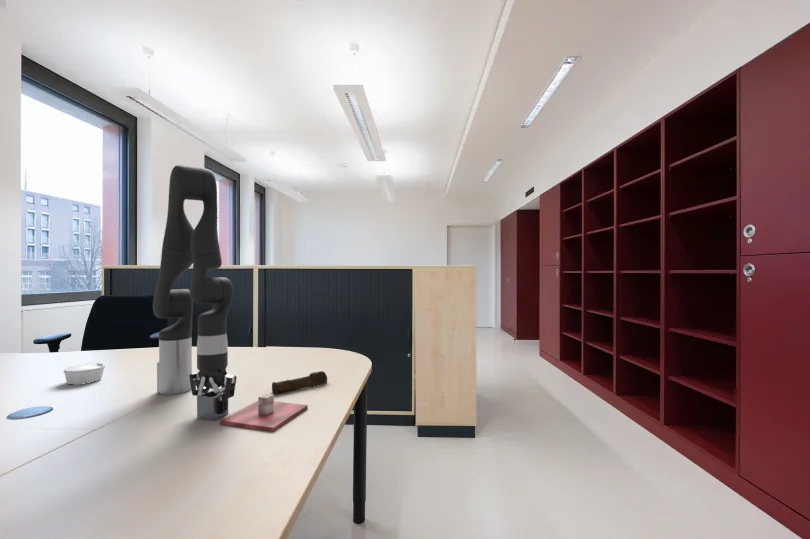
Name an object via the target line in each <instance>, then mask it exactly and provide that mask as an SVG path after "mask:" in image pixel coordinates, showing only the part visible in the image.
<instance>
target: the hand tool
mask: <svg viewBox="0 0 810 539" xmlns="http://www.w3.org/2000/svg"><path fill="white" fill-rule="evenodd" d="M326 383H328V376H327V374H326V372H324V371H315V372H311V373H309V375H307V376H303V377H298V378H294V379H286V380H281V381H278V382H274V381H272V383H271V392H272V393H273V395H275V394H276V395H277V394H282V393H284V392H289V391H291V390H297V389H302V388H306V387H314V386H315V387H319V386H322V385H325V384H326ZM318 385H319V386H318ZM315 387H314V388H315Z"/></svg>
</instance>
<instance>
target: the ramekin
mask: <svg viewBox="0 0 810 539" xmlns="http://www.w3.org/2000/svg"><path fill="white" fill-rule="evenodd" d="M105 367H106V365H105V364H104V363H100V362H91V363H82V364H75V365H73V366H72V365H71V366H68V367H66V368H64V369H63V374H64V376H65V381H66V383H67V384H68V385H69V384H82V383H89V382H93V381H97V380H99V379H100V380H102V378H103V375H104V370H105ZM100 380H99V381H100ZM97 382H98V381H97ZM89 384H90V383H89Z"/></svg>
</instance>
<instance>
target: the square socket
mask: <svg viewBox="0 0 810 539" xmlns="http://www.w3.org/2000/svg"><path fill="white" fill-rule="evenodd" d="M221 393H222V391H221ZM222 396H223V393H222ZM218 401H219V400H218V396H217V394H215V393H214V390H213V389H210V390H209V392H206V393H204V394H202V395H199V396H196V419H197V420H205V421H213V422H214V421H216V420H218V419H221V418H223V417H224V416H226V415H228V414H229V398H228V399H227V411H226V412H225V413H224V414H222V415H219V414H218Z"/></svg>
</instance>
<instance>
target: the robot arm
mask: <svg viewBox="0 0 810 539" xmlns="http://www.w3.org/2000/svg"><path fill="white" fill-rule="evenodd" d="M168 185H169V186H168V201H167V202H168V205H167V216H166V223H165V229H164V234H163V235H164V236H163V239H162V248H161V254H160V266H159V273H158V278H157V283H156V286H155V290H154V294H153V299H152V300H153V301H152V312H153V315H154V316H155V317H156V318H157V319H173V318H178V320H177V321H176V322H174V323H173V324H172V325H170V326H168V327H165V328H162V329H161V330H159V332H158V356H159V357H158V358H159V359H158V362H156V392H158V393H159V394H160V395H166V396H168V395H170V396H171V395H178V394H182V393H186V392H188V391H191V395H192V396H196V397H197V396H199V395H202V394H204V393H206V392H209V391H210V390H214V393H215V394H217V396H218V400H219V401H218V414H219V415H222V414H224V413H225V412H226V411H227V399H228V400H229V399H231V398H233V397H234V396H235V393H236V392H235V391H236V383H237V376H236V375H230V374H228V373H227V368H228V364H229V362H228V361H229V359H228V358H229V353H228V352H229V349H228V347H229V346H228V342H229V341H228V335H227V331H228V330H227V329H228V328H227V327H228V326H227V318H228V313H229V310H230V307H231V303H232V299H233V295H234V286H233V283H232V281H231V280H230V279H229V278H227V277H223V276H221V277H220V276H218V277H207V273H208V272H212V271H216V270H218V269H220V268H221V266H222V261H223V260H222V254H221V248H220V243H219V242H220V241H219V233H218V188H217V187H218V186H217V180H216V176H215V174H214V172H213V171H212V170H210V169H209V168H208V169H207V168H201V167H194V166H187V165H179V164H177V165H175V166H174V167H172V169H171V172H170V175H169V184H168ZM186 200H190V201H201V202H202V203H203V211H202V214H201V216H200V219H199V221H198V223H197V224H196V226H195V227H194V228H193V226H192V224H191V222H190V221H189V219H188V217H187V215H186V213H185V206H184V205H185V201H186ZM191 266H192V274H191V280H190V287H189V289H188V288H180V289H179V288H177V289H172V288H173V286H174V284H175V283H176V281H177V280H178V279H179V278H180V277H181V276H182V275H183V274H185V273H186V271H187V270H188V269H189V268H191ZM194 303H195V304H197V305H206V304H209V305H210V304H214V305H213V307H212V309H210V310H208V311H206V312H203V313H200V314H199V315H198V317H197V341H196V369H197V370H198V371H195V372H193V365H192V364H193V351H192V350H193V344H192V339H193V338H192V331H193V310H194ZM220 387H221V388H220ZM221 391H222V393H223V396H222V393H221Z"/></svg>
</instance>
